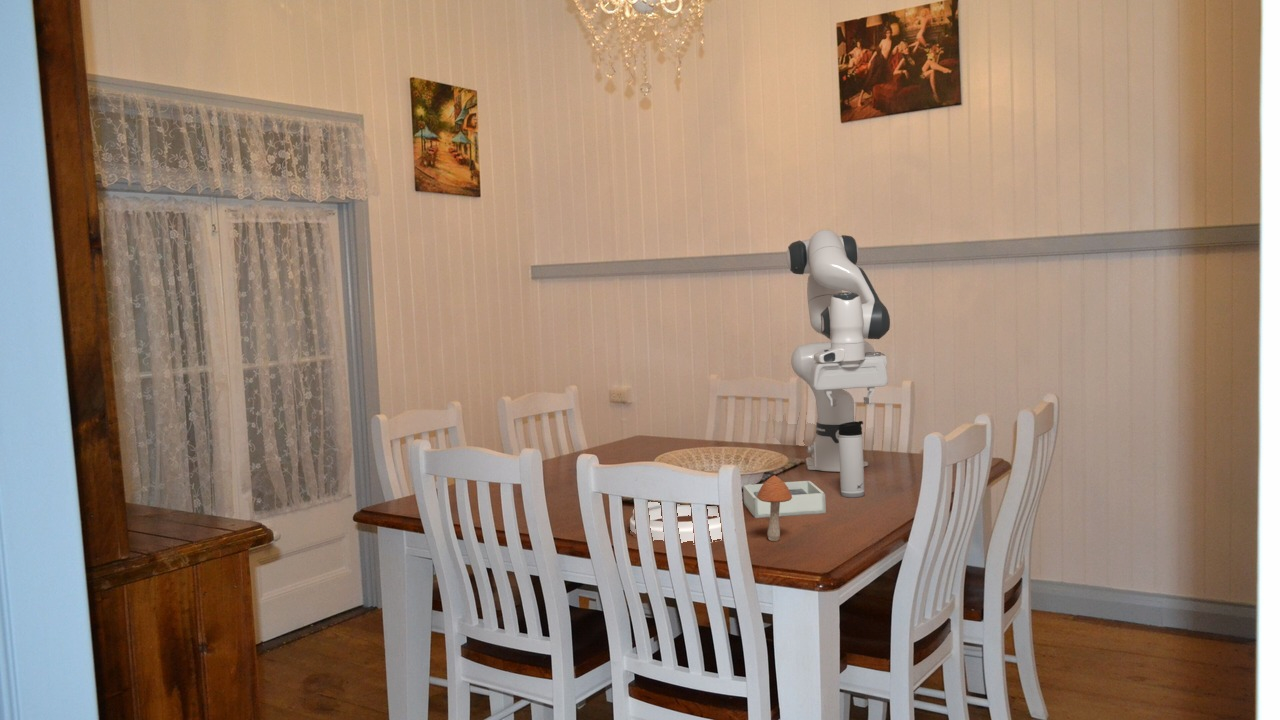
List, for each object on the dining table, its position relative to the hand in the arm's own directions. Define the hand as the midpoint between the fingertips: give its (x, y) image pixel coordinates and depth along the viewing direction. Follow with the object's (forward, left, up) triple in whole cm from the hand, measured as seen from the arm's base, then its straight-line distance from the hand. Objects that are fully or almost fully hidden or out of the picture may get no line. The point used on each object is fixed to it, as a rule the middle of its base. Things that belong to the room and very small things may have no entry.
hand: (850, 405), depth 253 cm
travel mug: (0, 0, -25) cm, 25 cm away
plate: (+23, -48, -25) cm, 59 cm away
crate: (+9, -21, -25) cm, 33 cm away
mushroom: (+38, -29, -25) cm, 54 cm away
